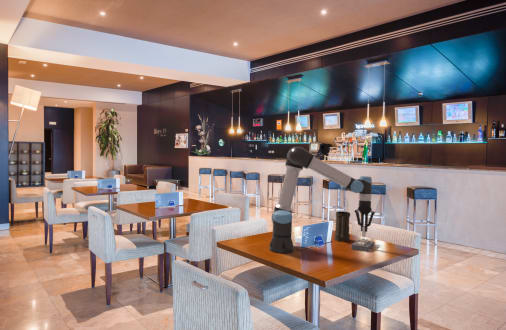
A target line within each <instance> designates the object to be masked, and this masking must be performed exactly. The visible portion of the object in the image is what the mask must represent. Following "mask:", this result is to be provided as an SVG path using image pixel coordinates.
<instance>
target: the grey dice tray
mask: <svg viewBox="0 0 506 330" xmlns="http://www.w3.org/2000/svg"><path fill="white" fill-rule="evenodd" d="M360 239H361V238H359V239H357V240H356V241H355V242H353V243H352V244H351V247H350V248H351V250H355V251H360V252H366V253H368V252H369V251H370V250H372V249H373V248H375V246H376V245H375V243H376V242H375V241H372V240H370V242H369V243H366V244H365V246H361V245H357V243H358V242H360ZM372 247H373V248H372ZM371 248H372V249H371Z"/></svg>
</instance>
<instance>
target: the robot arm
mask: <svg viewBox="0 0 506 330" xmlns="http://www.w3.org/2000/svg"><path fill="white" fill-rule="evenodd" d="M284 166H285V167H286V170H285V173H284V174H285V175H284V179H283V182H282V185H281V186H282V187H281V191H280V195H279V199H278V201H277V202H278V203H277V204H276V205H275V206H274V209H273V213H272V215H271V223H272V237H271V239H270V242H269V247H268V249H269V251H271V252H274V253H278V254H279V253H280V254H287V253H288V254H289V253H294V251H295V246H294V242H293V239H292V238H293V237H292V235H293V233H292V232H293V230H292V227H293V208H292V203H293V201H294V196H295V192H296V188H297V184H298V180H299V175H300V172H301V171H303V170H304V169H306V170H307V169H309V170H312V171H313V172H315V173H317V174H319V175H321V176H323V177H324V178H326V179H329V180H331V181H332V182H334V183H336V184H338V185H339V186H340V190H341V191H347V192H352V193H355V194H358V199H359V200H358V208H357V209H354V213H355V216H356V221H357V225H358V226H360V232H362V233H361V235H362V238H366V236H367V235H366V234H367V232H368V227H370V226H372V222H373V218H374V215H375V214H376V211H374V210H372V209H373V208H372V187H373V185H372V184H373V179H372V177H371V176H366V175H365V176H364V175H363V176H362V175H361V176H359V178H358V179H357V178H354V177H351V176H350V175H348V174H347V173H345V172H343V171H341V170H339V169H337V168H335V167H333V166H332V165H330V164H328V163H326V162H325V161H323V160H320V159H318V158H317V157H316V155H315V154H313V153H311V152H310V151H308V150H307V149H305V147H301V146H293V147H292V148H290V149H289V150H288V152H287V154H286V160H285V163H284ZM369 214H370V217H369Z"/></svg>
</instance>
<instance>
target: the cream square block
mask: <svg viewBox="0 0 506 330" xmlns="http://www.w3.org/2000/svg"><path fill="white" fill-rule="evenodd" d="M359 239H360V242H363V243H365V244H366V243H367V239H368V238H364V237H362V238H359Z"/></svg>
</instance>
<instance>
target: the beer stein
mask: <svg viewBox="0 0 506 330" xmlns="http://www.w3.org/2000/svg"><path fill="white" fill-rule="evenodd" d="M335 217H336V218H335V229H334V231H335V233H334V238H333V239H334V241H336V240H337V242H342V241H348V242H350V241H351V239H350V217H351V213H350V212H349V211H341V210H340V211H336V212H335Z"/></svg>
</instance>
